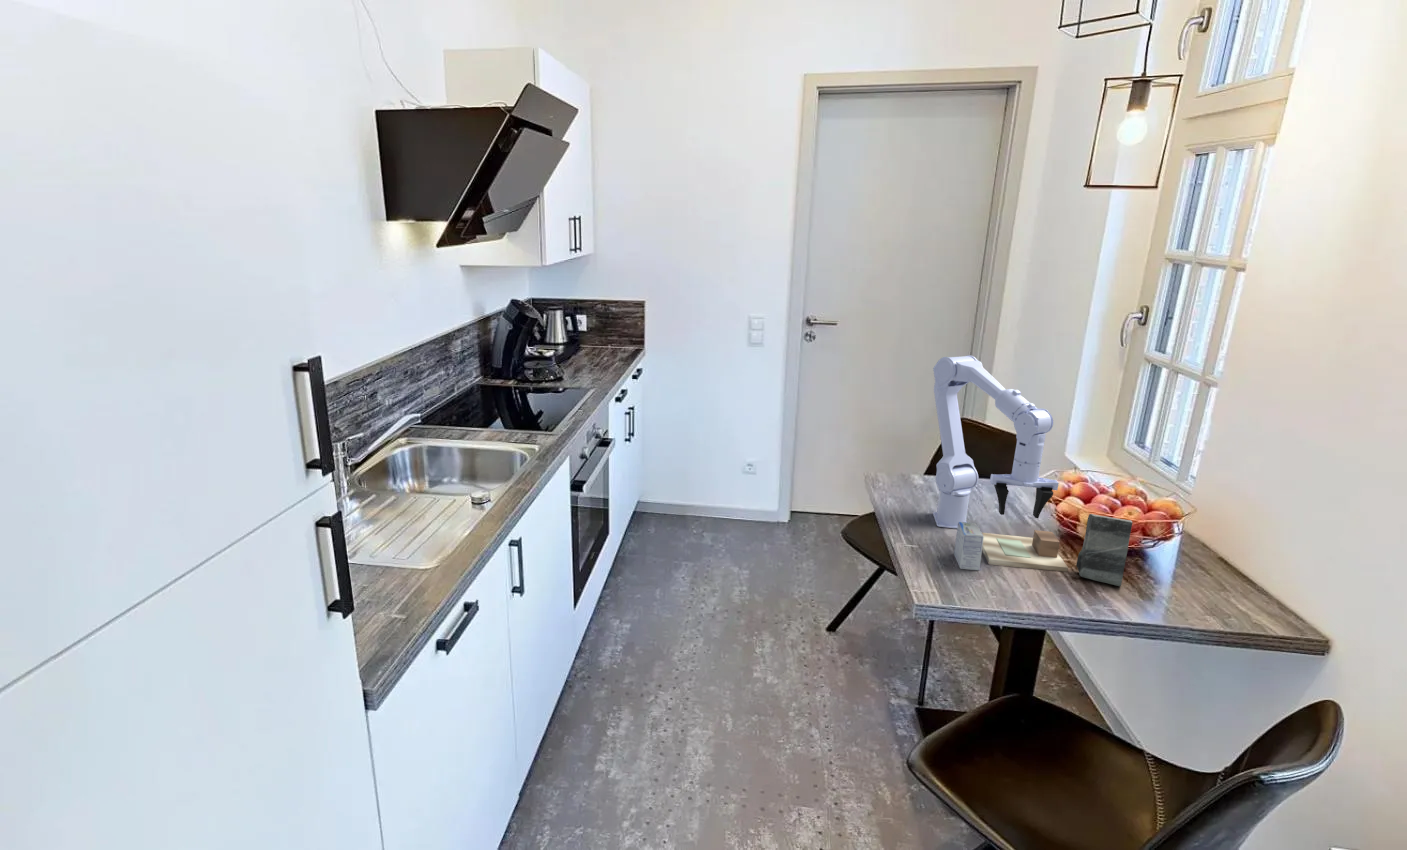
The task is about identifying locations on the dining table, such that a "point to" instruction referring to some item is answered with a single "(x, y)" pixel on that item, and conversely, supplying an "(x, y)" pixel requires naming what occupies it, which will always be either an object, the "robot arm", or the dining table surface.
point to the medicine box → (968, 546)
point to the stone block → (1104, 549)
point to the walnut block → (1045, 543)
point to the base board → (1017, 553)
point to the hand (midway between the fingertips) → (1018, 515)
